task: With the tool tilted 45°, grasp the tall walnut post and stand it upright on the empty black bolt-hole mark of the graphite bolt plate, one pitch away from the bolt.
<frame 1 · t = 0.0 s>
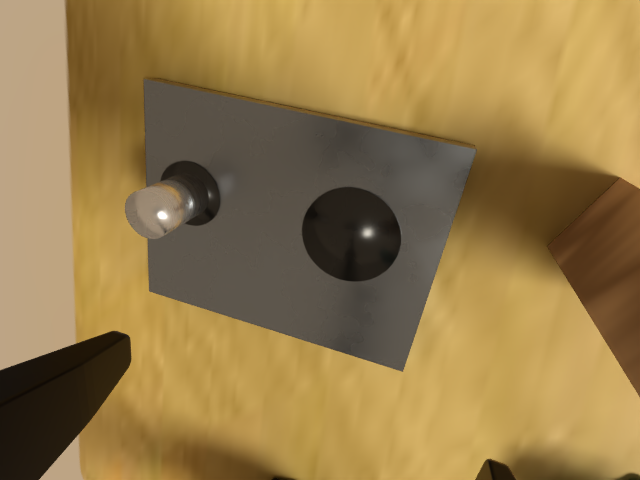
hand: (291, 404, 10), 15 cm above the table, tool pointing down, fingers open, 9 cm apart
post: (618, 239, 20), on the table
bolt plate: (288, 227, 24), on the table
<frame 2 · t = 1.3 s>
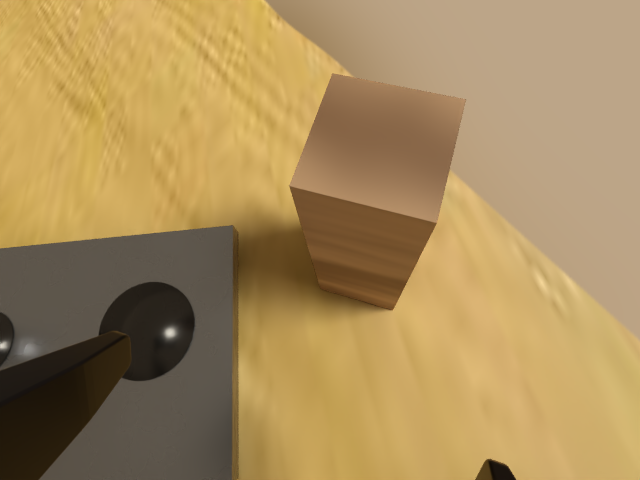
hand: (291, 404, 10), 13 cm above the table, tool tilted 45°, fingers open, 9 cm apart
post: (365, 264, 25), on the table
bolt plate: (89, 355, 24), on the table
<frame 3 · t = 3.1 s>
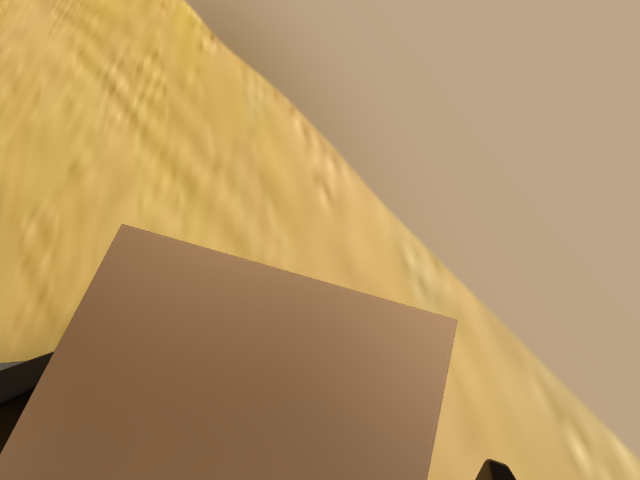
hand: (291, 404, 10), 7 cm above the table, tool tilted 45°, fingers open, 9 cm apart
post: (312, 414, 16), on the table
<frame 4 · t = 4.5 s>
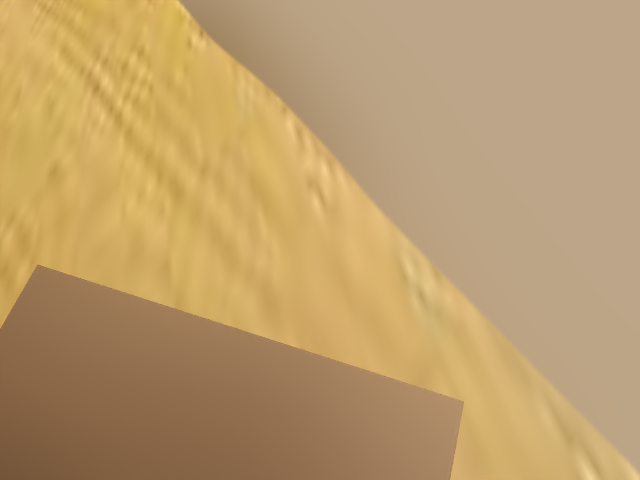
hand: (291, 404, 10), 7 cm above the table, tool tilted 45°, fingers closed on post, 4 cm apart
post: (303, 437, 15), on the table, touching gripper
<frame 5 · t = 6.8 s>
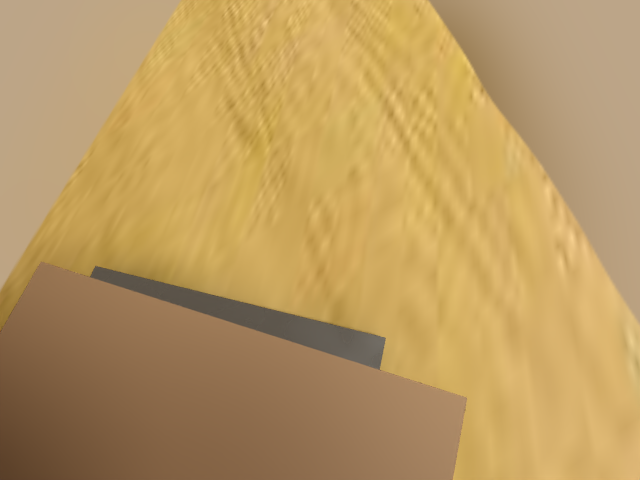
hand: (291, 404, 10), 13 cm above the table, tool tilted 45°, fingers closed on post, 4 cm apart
post: (304, 436, 15), point 7 cm above the table, touching gripper
bolt plate: (197, 426, 22), on the table
when the fingers open (9 cm above the table, at t = 8.9 s): post drops 1 cm, resting on bolt plate.
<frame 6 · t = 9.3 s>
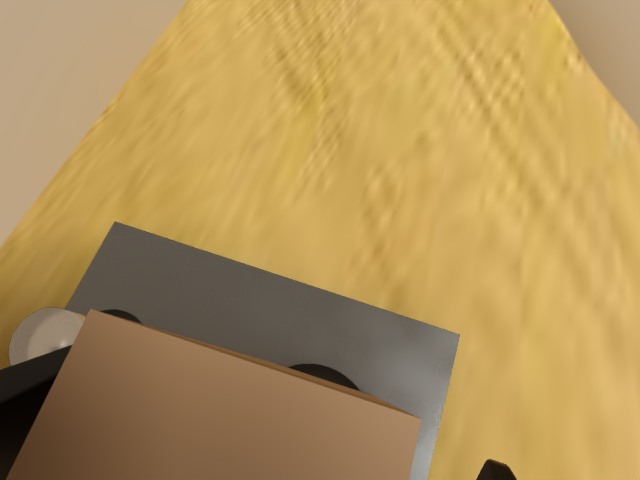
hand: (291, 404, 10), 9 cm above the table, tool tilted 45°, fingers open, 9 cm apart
post: (307, 434, 16), point 1 cm above the table, touching bolt plate
bolt plate: (220, 421, 18), on the table
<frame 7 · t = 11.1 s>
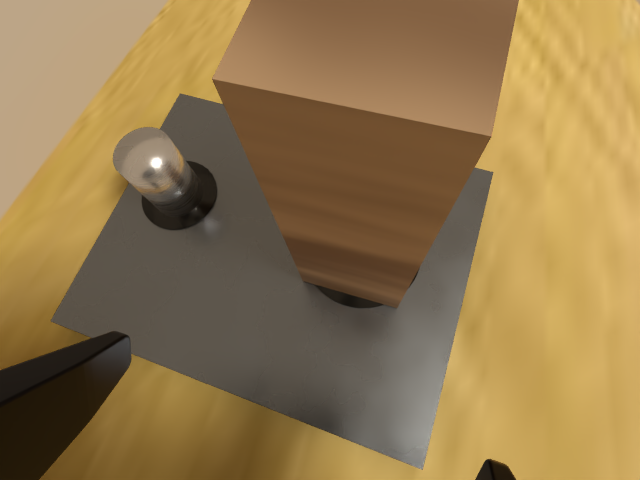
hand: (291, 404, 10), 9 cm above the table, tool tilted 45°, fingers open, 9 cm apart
post: (362, 249, 19), point 1 cm above the table, touching bolt plate
bolt plate: (281, 252, 21), on the table
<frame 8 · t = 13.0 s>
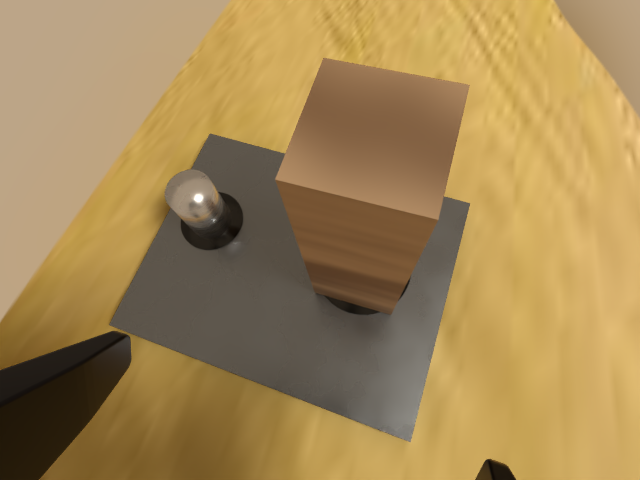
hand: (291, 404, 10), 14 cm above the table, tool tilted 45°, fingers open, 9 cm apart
post: (362, 267, 23), point 1 cm above the table, touching bolt plate
bolt plate: (296, 268, 25), on the table
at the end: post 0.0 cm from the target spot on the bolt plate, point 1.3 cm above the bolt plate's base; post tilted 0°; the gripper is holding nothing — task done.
